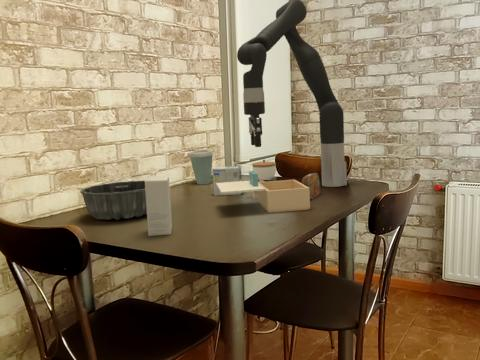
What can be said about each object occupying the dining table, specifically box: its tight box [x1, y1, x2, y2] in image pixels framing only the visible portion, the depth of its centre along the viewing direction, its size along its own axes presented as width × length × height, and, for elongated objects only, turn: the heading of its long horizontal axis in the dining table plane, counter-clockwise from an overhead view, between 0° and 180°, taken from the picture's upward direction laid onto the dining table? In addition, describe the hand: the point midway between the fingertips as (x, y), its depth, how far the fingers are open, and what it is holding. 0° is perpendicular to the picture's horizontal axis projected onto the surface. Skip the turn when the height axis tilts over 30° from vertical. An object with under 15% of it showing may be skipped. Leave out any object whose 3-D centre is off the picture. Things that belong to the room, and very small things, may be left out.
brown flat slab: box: [301, 172, 321, 200], centre depth 175 cm, size 15×3×8 cm, turn 154°
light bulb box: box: [212, 165, 243, 197], centre depth 191 cm, size 11×7×11 cm, turn 84°
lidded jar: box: [252, 159, 277, 181], centre depth 221 cm, size 11×11×9 cm
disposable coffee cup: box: [188, 149, 214, 185], centre depth 221 cm, size 11×11×15 cm
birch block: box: [251, 181, 265, 200], centre depth 180 cm, size 4×4×6 cm
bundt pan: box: [79, 180, 147, 221], centre depth 163 cm, size 26×26×10 cm
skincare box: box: [144, 174, 173, 237], centre depth 137 cm, size 8×7×16 cm
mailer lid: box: [216, 170, 265, 194], centre depth 161 cm, size 14×19×5 cm
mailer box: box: [257, 179, 311, 214], centre depth 163 cm, size 14×19×7 cm
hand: (256, 146), depth 178 cm, fingers open, 8 cm apart
